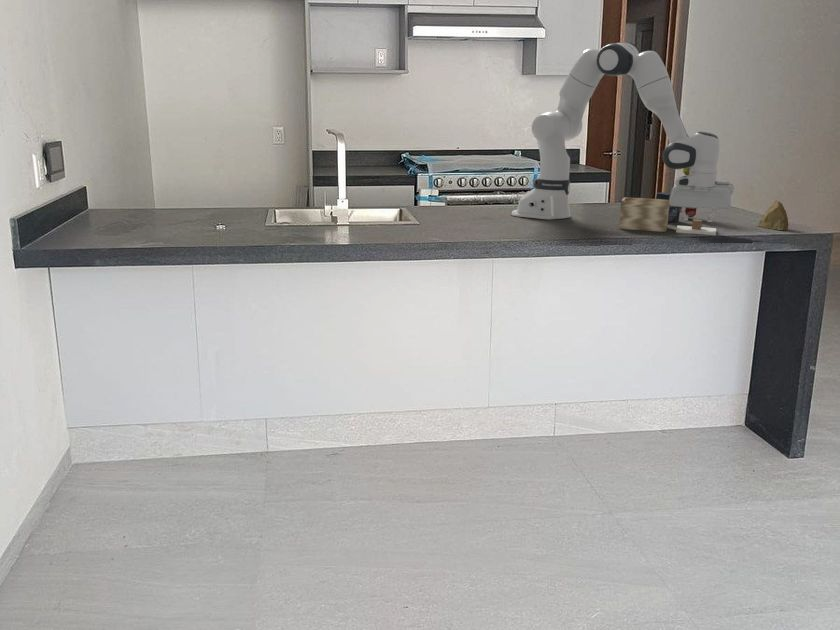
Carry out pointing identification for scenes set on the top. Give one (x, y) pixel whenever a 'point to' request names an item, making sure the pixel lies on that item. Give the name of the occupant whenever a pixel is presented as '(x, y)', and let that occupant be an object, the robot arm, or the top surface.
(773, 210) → the rock
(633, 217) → the birch box
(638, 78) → the robot arm
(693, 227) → the lid
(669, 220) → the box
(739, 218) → the top surface
